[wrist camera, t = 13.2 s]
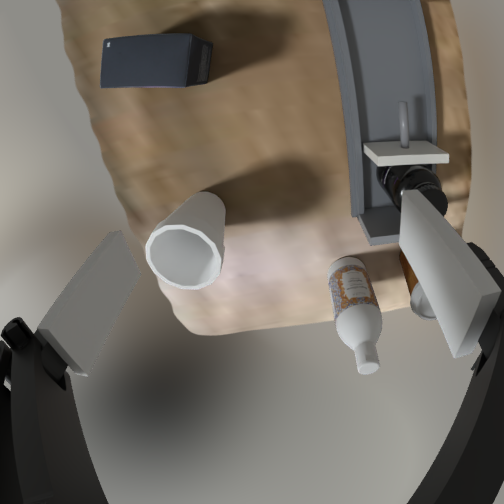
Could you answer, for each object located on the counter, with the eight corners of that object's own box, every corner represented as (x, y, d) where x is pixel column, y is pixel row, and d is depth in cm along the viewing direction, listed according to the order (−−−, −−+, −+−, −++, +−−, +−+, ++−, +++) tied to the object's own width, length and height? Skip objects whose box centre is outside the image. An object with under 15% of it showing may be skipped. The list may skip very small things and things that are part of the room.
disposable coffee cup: (409, 222, 42) (439, 266, 32) (446, 241, 43) (476, 284, 33) (381, 266, 48) (401, 315, 38) (418, 280, 49) (440, 326, 39)
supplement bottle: (370, 153, 36) (402, 185, 26) (412, 144, 35) (455, 173, 25) (378, 197, 40) (407, 240, 30) (418, 187, 38) (455, 226, 28)
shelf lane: (319, -11, 24) (330, -32, 17) (414, -5, 22) (444, -18, 15) (351, 214, 43) (365, 246, 35) (430, 206, 40) (455, 235, 33)
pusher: (358, 100, 32) (374, 105, 26) (424, 99, 30) (448, 106, 25) (363, 151, 36) (378, 166, 30) (426, 148, 34) (448, 163, 28)
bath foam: (367, 254, 46) (401, 350, 30) (362, 286, 50) (387, 379, 34) (327, 256, 47) (346, 355, 31) (325, 287, 51) (339, 384, 35)
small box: (136, 84, 34) (97, 91, 25) (140, 42, 30) (101, 37, 21) (208, 86, 34) (184, 90, 25) (214, 41, 30) (192, 30, 21)
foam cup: (170, 223, 46) (140, 273, 36) (184, 173, 41) (152, 213, 30) (224, 243, 48) (209, 298, 37) (244, 195, 43) (232, 243, 32)
